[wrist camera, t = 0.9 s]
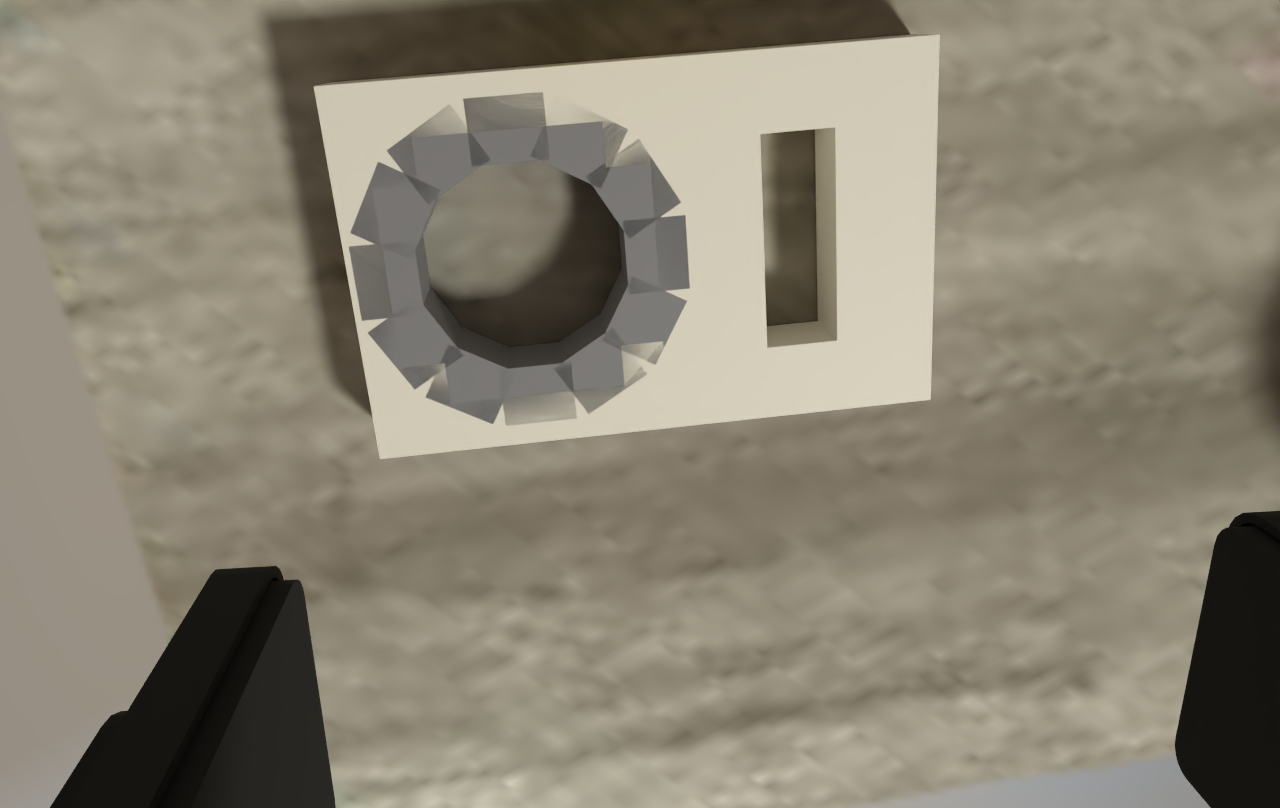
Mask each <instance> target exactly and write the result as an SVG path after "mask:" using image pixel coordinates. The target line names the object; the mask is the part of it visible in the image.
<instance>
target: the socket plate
mask: <svg viewBox="0 0 1280 808" xmlns="http://www.w3.org/2000/svg"><path fill="white" fill-rule="evenodd" d="M939 39H940V34H910V35H898V36H886V37H873V38H861V39H849V40H837V41H825V42H813V43H801V44H789V45H777V46H765V47H753V48H741V49H729V50H716V51H704V52H692V53H680V54H668V55H656V56H644V57H632V58H620V59H608V60H596V61H584V62H572V63H559V64H547V65H535V66H523V67H511V68H499V69H487V70H475V71H463V72H451V73H439V74H427V75H415V76H403V77H390V78H378V79H366V80H354V81H342V82H330V83H325V84H321V85H317V86H314V92H315V97H316V103H317V109H318V114H319V120H320V125H321V131H322V137H323V142H324V148H325V153H326V159H327V165H328V170H329V176H330V181H331V187H332V193H333V198H334V204H335V209H336V215H337V221H338V226H339V232H340V237H341V243H342V249H343V254H344V260H345V266H346V271H347V277H348V282H349V288H350V294H351V299H352V305H353V310H354V316H355V322H356V327H357V333H358V338H359V344H360V350H361V355H362V361H363V366H364V372H365V378H366V383H367V389H368V394H369V400H370V406H371V411H372V417H373V422H374V428H375V434H376V439H377V445H378V451H379V456H380V459H386V458H395V457H404V456H413V455H423V454H432V453H441V452H450V451H460V450H469V449H478V448H487V447H497V446H506V445H515V444H524V443H534V442H543V441H552V440H562V439H571V438H580V437H589V436H599V435H608V434H617V433H626V432H636V431H645V430H654V429H663V428H673V427H682V426H691V425H700V424H710V423H719V422H728V421H737V420H747V419H756V418H765V417H774V416H784V415H793V414H802V413H812V412H821V411H830V410H839V409H849V408H858V407H867V406H876V405H886V404H895V403H904V402H913V401H923V400H931V363H932V323H933V282H934V242H935V201H936V161H937V120H938V80H939ZM811 129H815V175H816V239H817V302H818V321H814V322H804V323H794V324H784V325H774V326H767V323H766V293H765V263H764V234H763V204H762V174H761V145H760V134H766V133H778V132H789V131H800V130H811ZM537 160H540V161H542V162H544V163H547V164H549V165H551V166H553V167H555V168H557V169H559V170H561V171H564V172H566V173H568V174H570V175H572V176H574V177H576V178H579V179H581V180H583V181H585V182H587V183H589V184H591V185H592V186H593V187H594V189H595V190H596V192H597V193H598V194H599V196H600V197H601V199H602V200H603V202H604V203H605V204H606V206H607V207H608V209H609V210H610V212H611V213H612V214H613V216H614V217H615V219H616V220H617V222H618V229H619V241H620V253H621V265H622V269H621V271H620V273H619V275H618V277H617V279H616V282H615V284H614V286H613V288H612V290H611V292H610V294H609V296H608V298H607V301H606V303H605V305H604V307H603V309H602V311H601V313H600V314H599V315H597V316H596V317H595V318H593V319H592V320H590V321H589V322H587V323H586V324H585V325H583V326H582V327H580V328H579V329H577V330H576V331H574V332H573V333H572V334H570V335H569V336H567V337H566V338H564V339H563V340H562V341H560V342H554V343H544V344H534V345H524V346H514V347H508V346H506V345H503V344H501V343H499V342H496V341H494V340H492V339H489V338H487V337H484V336H482V335H480V334H477V333H475V332H472V331H470V330H468V329H465V328H463V327H462V326H461V325H460V324H459V322H458V321H457V320H456V319H455V317H454V316H453V315H452V314H451V312H450V311H449V310H448V308H447V307H446V306H445V305H444V303H443V302H442V301H441V300H440V298H439V297H438V296H437V295H436V293H435V292H434V291H433V290H432V288H431V287H430V281H429V274H428V267H427V261H426V254H425V247H424V241H423V234H424V231H425V229H426V227H427V224H428V222H429V219H430V217H431V215H432V212H433V210H434V207H435V205H436V202H437V200H438V198H439V197H440V196H441V195H442V194H444V193H445V192H446V191H448V190H449V189H451V188H452V187H453V186H455V185H456V184H457V183H459V182H460V181H461V180H463V179H464V178H466V177H467V176H468V175H470V174H471V173H472V172H474V171H475V170H477V169H478V168H479V167H481V166H482V165H492V164H504V163H515V162H526V161H537Z"/></svg>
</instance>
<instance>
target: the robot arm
mask: <svg viewBox="0 0 1280 808" xmlns="http://www.w3.org/2000/svg"><path fill="white" fill-rule="evenodd" d="M1175 750H1176V757H1177V760H1178V764H1179V766H1180V769H1181V771H1182V773H1183V774H1184V776H1185V777H1186V779H1187V780H1188V781H1189V782H1190V784H1191V785H1192V786H1193V787H1194V788H1195V789H1196V791H1197V792H1198V793H1199V794H1200V795H1201V797H1202V798H1203V799H1204V800H1205V801H1206V802H1207V804H1208V805H1209V806H1210V807H1211V808H1280V511H1270V512H1252V513H1242V514H1240V515H1238V516H1237V517H1235V519H1234V520H1233V521H1232V523H1231V524H1230V526H1229V528H1225V529H1223V530H1222V531H1221V532H1220V533H1219V535H1218V536H1217V539H1216V541H1215V545H1214V550H1213V555H1212V560H1211V565H1210V570H1209V575H1208V580H1207V585H1206V590H1205V595H1204V600H1203V605H1202V610H1201V615H1200V619H1199V624H1198V629H1197V634H1196V639H1195V644H1194V649H1193V654H1192V659H1191V664H1190V669H1189V674H1188V679H1187V684H1186V689H1185V694H1184V699H1183V704H1182V709H1181V714H1180V719H1179V724H1178V729H1177V734H1176V740H1175ZM50 808H335V798H334V791H333V784H332V778H331V771H330V764H329V757H328V751H327V744H326V737H325V731H324V724H323V717H322V710H321V704H320V697H319V690H318V683H317V677H316V670H315V663H314V656H313V650H312V643H311V636H310V630H309V623H308V616H307V609H306V603H305V596H304V591H303V587H302V585H301V582H300V581H299V580H284V579H283V576H282V573H281V571H280V569H279V568H278V567H277V566H269V567H251V568H232V569H217V570H215V571H214V572H213V573H212V574H211V575H210V577H209V579H208V580H207V582H206V584H205V585H204V587H203V589H202V590H201V592H200V593H199V595H198V597H197V598H196V600H195V602H194V603H193V605H192V607H191V608H190V610H189V611H188V613H187V615H186V616H185V618H184V620H183V621H182V623H181V624H180V626H179V628H178V629H177V631H176V633H175V634H174V636H173V638H172V639H171V641H170V642H169V644H168V646H167V647H166V649H165V651H164V652H163V654H162V656H161V657H160V659H159V660H158V662H157V664H156V665H155V667H154V669H153V670H152V672H151V674H150V675H149V677H148V678H147V680H146V682H145V683H144V685H143V687H142V688H141V690H140V692H139V693H138V695H137V696H136V698H135V700H134V701H133V703H132V705H131V706H130V708H129V710H128V711H121V712H118V713H116V714H113V715H111V716H110V718H109V719H108V720H107V721H106V722H105V723H104V725H103V726H102V727H101V728H100V730H99V732H98V733H97V735H96V736H95V738H94V740H93V741H92V742H91V744H90V746H89V747H88V749H87V750H86V752H85V753H84V755H83V757H82V758H81V760H80V761H79V763H78V764H77V766H76V768H75V769H74V771H73V772H72V774H71V775H70V777H69V779H68V780H67V782H66V783H65V785H64V786H63V788H62V790H61V791H60V793H59V794H58V796H57V797H56V799H55V801H54V802H53V804H52V805H51V807H50Z"/></svg>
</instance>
